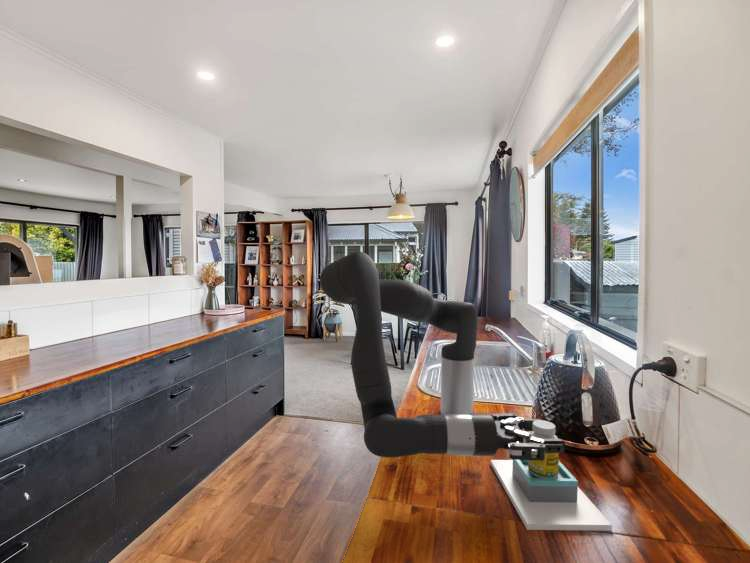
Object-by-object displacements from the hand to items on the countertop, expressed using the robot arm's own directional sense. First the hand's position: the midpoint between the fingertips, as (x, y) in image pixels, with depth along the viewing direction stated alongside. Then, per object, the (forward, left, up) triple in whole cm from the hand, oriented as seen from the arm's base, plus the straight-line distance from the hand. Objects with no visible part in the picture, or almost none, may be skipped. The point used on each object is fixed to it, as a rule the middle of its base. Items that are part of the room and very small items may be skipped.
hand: (552, 434), depth 71 cm
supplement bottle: (0, -2, -8) cm, 8 cm away
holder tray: (0, -2, -11) cm, 12 cm away
